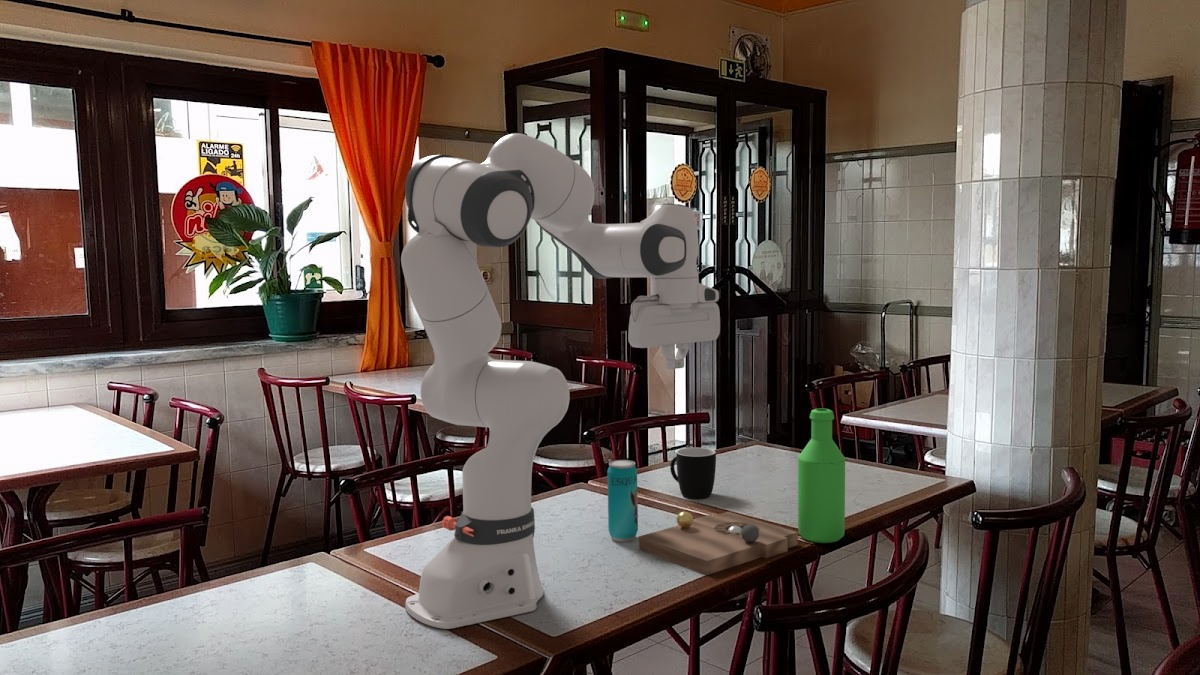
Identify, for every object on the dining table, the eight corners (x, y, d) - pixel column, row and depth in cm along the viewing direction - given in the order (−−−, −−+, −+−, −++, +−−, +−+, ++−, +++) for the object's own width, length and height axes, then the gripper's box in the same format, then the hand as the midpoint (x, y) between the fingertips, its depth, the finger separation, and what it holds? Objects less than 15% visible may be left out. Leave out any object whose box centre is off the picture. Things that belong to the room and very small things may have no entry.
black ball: (750, 546, 165) (750, 528, 165) (737, 541, 168) (737, 524, 168) (762, 542, 167) (762, 525, 167) (749, 538, 170) (749, 521, 170)
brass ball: (684, 531, 174) (684, 515, 174) (673, 527, 177) (673, 511, 177) (696, 528, 176) (696, 511, 176) (685, 524, 179) (685, 508, 179)
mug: (724, 495, 208) (724, 451, 207) (698, 503, 202) (698, 458, 201) (684, 485, 217) (683, 443, 216) (658, 493, 211) (658, 450, 210)
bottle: (852, 536, 178) (854, 409, 175) (830, 547, 171) (831, 415, 169) (812, 527, 184) (813, 404, 181) (789, 538, 177) (789, 410, 175)
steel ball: (733, 542, 173) (738, 525, 173) (721, 538, 175) (726, 522, 176) (744, 546, 175) (748, 529, 175) (731, 541, 177) (736, 525, 178)
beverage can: (635, 543, 176) (634, 466, 174) (606, 542, 177) (604, 466, 175) (640, 534, 181) (639, 459, 180) (611, 533, 182) (610, 459, 181)
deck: (711, 576, 157) (711, 562, 157) (635, 548, 173) (635, 535, 173) (801, 546, 172) (801, 533, 172) (724, 522, 188) (724, 510, 188)
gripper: (643, 296, 159) (644, 375, 161) (725, 291, 172) (725, 364, 173) (620, 295, 164) (621, 372, 166) (701, 290, 177) (702, 361, 178)
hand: (675, 368), depth 169 cm, fingers closed
